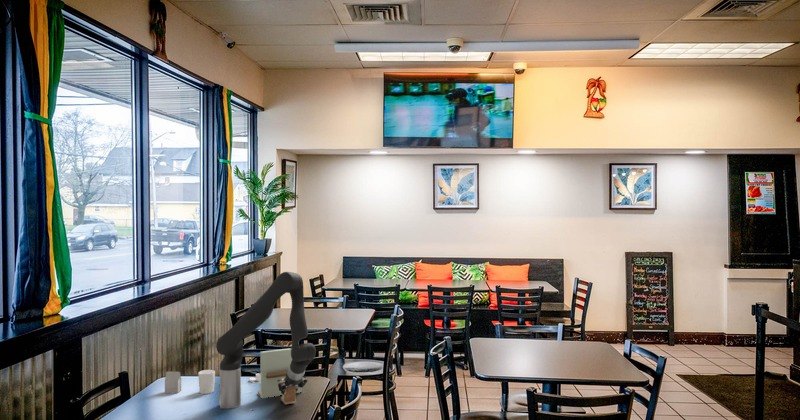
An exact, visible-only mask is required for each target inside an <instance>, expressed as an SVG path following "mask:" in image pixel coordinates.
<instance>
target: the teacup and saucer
mask: <svg viewBox="0 0 800 420" xmlns="http://www.w3.org/2000/svg"><path fill="white" fill-rule="evenodd" d="M248 381H249V382H251V383H252V384H256V383H259V384H261V372H258V373H255V377H249V378H248Z"/></svg>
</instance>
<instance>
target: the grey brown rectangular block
mask: <svg viewBox="0 0 800 420" xmlns="http://www.w3.org/2000/svg"><path fill="white" fill-rule="evenodd" d="M165 372H166V373H165V378H164V394H179V393H181V392H182V375H181V372H180V371H165Z"/></svg>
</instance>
